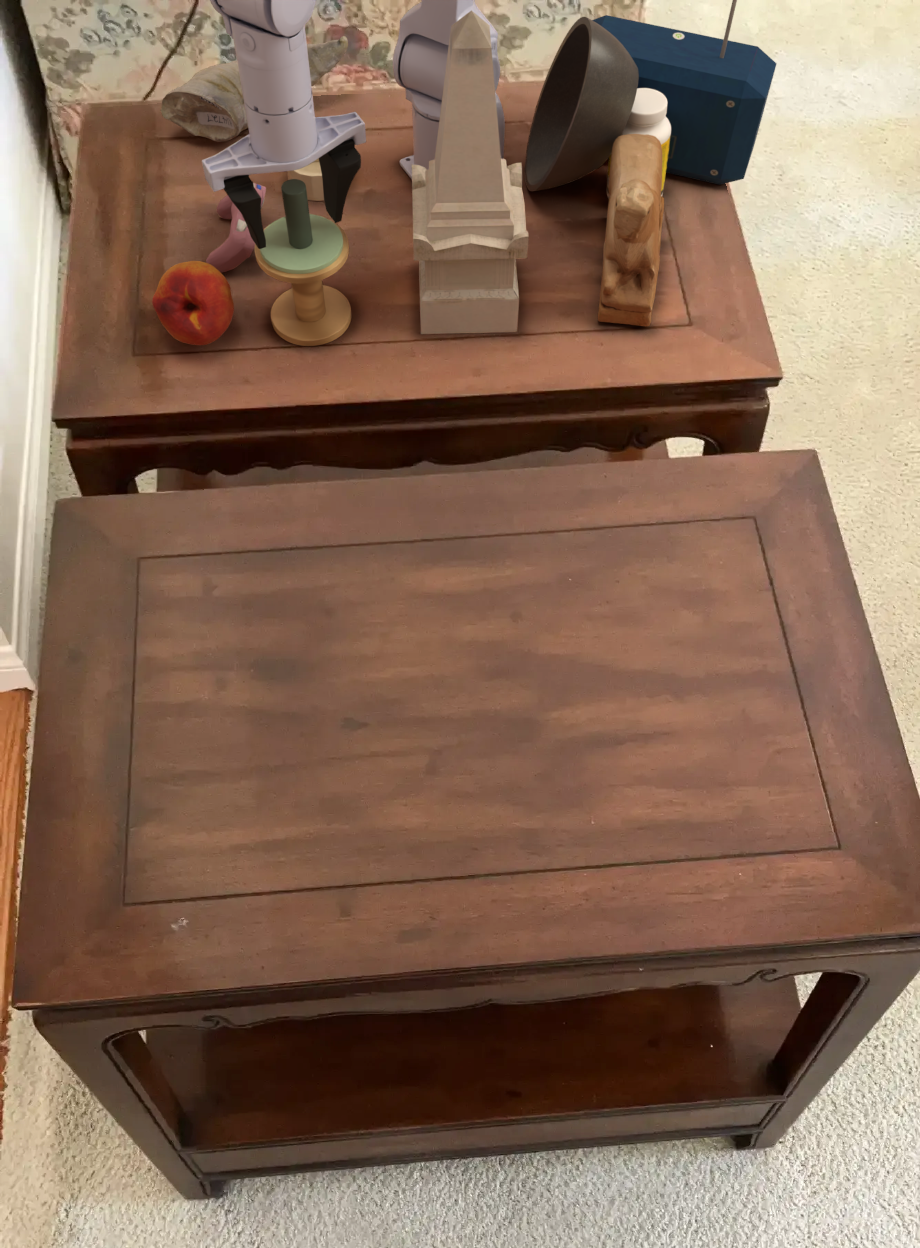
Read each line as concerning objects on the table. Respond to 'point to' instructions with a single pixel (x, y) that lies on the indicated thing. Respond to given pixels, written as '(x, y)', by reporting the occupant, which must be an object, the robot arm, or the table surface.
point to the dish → (310, 180)
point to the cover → (300, 235)
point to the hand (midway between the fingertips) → (296, 228)
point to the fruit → (194, 302)
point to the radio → (701, 94)
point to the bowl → (580, 107)
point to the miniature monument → (468, 201)
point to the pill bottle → (649, 123)
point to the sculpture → (632, 231)
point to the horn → (231, 94)
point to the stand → (309, 303)
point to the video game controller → (234, 236)
